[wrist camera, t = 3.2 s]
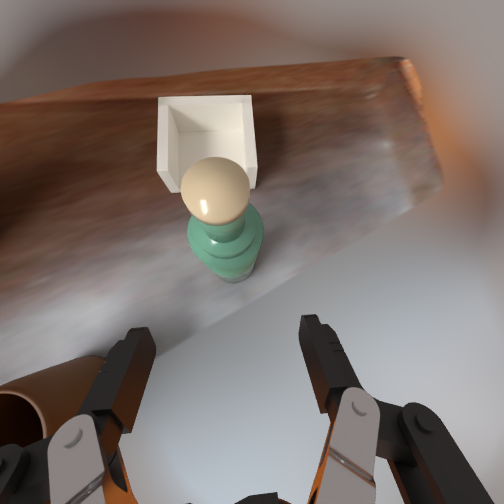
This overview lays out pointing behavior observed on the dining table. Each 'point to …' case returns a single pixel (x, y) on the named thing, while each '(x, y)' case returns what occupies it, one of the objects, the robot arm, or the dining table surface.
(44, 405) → the mug
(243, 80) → the dining table surface
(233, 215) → the green bottle
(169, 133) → the holder
